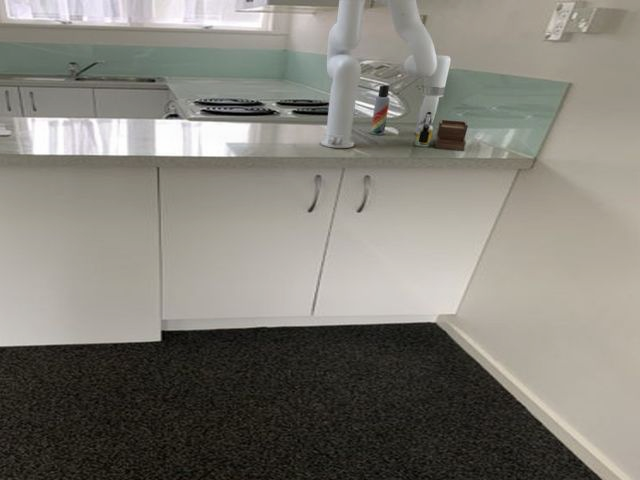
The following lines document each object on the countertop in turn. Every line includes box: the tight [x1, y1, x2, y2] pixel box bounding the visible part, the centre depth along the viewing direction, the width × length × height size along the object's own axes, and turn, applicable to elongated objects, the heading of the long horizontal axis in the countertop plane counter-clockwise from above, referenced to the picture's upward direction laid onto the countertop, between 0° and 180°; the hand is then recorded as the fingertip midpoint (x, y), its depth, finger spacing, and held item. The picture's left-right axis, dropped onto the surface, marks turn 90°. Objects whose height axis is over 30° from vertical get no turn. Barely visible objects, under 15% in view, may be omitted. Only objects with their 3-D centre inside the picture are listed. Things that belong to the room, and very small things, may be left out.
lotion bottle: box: [370, 85, 390, 136], centre depth 180 cm, size 6×6×20 cm
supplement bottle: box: [414, 120, 434, 147], centre depth 164 cm, size 5×5×10 cm
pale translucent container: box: [414, 105, 422, 136], centre depth 183 cm, size 5×5×12 cm
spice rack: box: [434, 119, 469, 152], centre depth 165 cm, size 15×10×8 cm, turn 159°
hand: (423, 140), depth 165 cm, fingers closed on supplement bottle, 5 cm apart
